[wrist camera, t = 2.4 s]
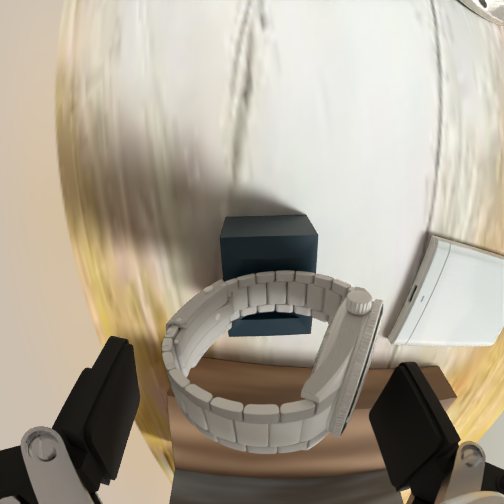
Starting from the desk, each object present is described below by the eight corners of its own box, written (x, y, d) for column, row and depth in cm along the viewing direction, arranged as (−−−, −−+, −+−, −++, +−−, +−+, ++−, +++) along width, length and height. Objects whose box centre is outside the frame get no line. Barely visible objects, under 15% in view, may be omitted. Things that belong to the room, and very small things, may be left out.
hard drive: (531, 268, 16) (440, 241, 15) (491, 347, 19) (392, 348, 18) (520, 260, 18) (427, 231, 17) (483, 337, 21) (384, 334, 20)
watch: (333, 300, 18) (391, 455, 8) (203, 304, 18) (166, 468, 8) (340, 212, 16) (453, 344, 6) (193, 216, 16) (110, 361, 6)
